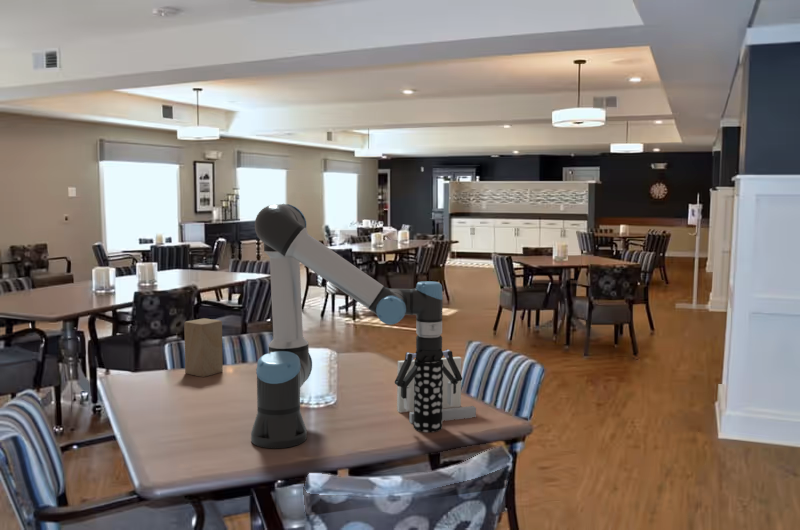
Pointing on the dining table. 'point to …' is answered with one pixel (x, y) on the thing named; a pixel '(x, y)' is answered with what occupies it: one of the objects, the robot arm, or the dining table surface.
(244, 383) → the dining table surface
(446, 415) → the cleat board
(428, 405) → the white-spotted black cylinder
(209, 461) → the dining table surface
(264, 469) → the dining table surface
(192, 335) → the wooden block
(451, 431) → the dining table surface
